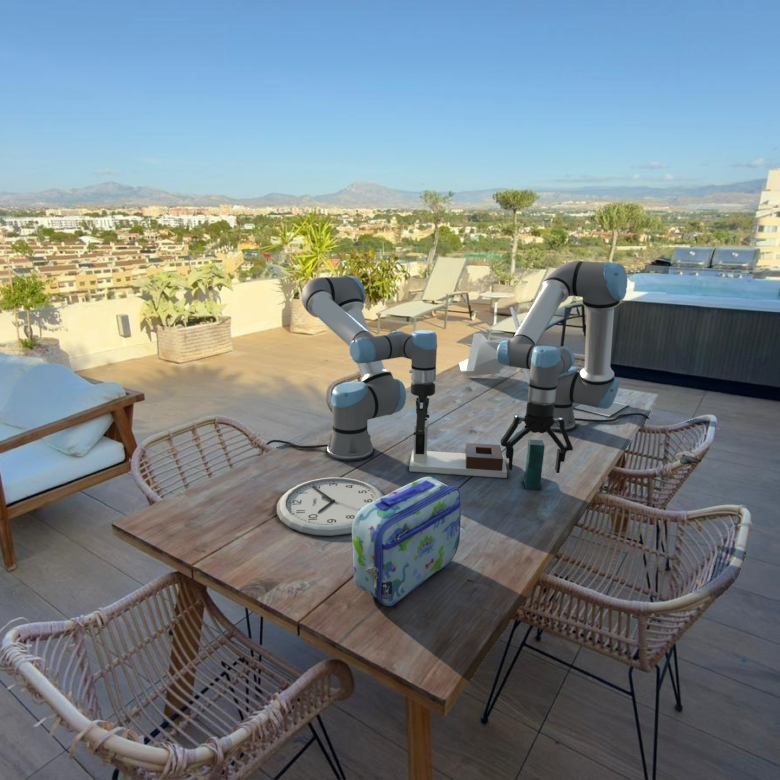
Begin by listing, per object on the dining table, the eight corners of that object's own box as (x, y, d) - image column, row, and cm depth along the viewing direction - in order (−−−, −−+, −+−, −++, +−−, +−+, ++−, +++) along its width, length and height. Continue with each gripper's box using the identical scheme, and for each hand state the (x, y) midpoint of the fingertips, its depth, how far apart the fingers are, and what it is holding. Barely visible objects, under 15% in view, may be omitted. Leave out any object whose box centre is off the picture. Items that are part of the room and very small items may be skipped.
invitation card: (608, 416, 214) (573, 407, 224) (608, 416, 214) (573, 408, 224) (628, 404, 229) (594, 396, 238) (628, 405, 229) (594, 397, 238)
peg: (537, 483, 157) (542, 440, 153) (539, 489, 154) (544, 445, 149) (524, 482, 158) (528, 439, 154) (525, 488, 154) (530, 444, 150)
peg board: (503, 461, 172) (506, 421, 167) (506, 477, 160) (510, 435, 156) (412, 455, 175) (413, 416, 171) (409, 471, 164) (410, 429, 159)
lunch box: (381, 619, 101) (382, 525, 95) (345, 592, 109) (344, 503, 102) (464, 563, 119) (469, 480, 113) (428, 543, 126) (432, 464, 120)
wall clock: (392, 527, 129) (268, 531, 127) (391, 533, 130) (269, 537, 127) (383, 473, 158) (282, 475, 155) (383, 478, 158) (282, 480, 156)
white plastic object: (480, 418, 266) (459, 395, 242) (461, 346, 288) (441, 318, 264) (550, 394, 254) (536, 368, 229) (526, 321, 276) (510, 289, 251)
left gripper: (414, 370, 173) (412, 430, 179) (407, 392, 149) (405, 460, 155) (436, 371, 172) (434, 431, 178) (433, 393, 148) (431, 462, 155)
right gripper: (583, 399, 150) (574, 467, 156) (495, 394, 153) (489, 461, 159) (589, 408, 143) (579, 478, 149) (497, 402, 146) (491, 472, 152)
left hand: (421, 445), depth 167 cm, fingers open, 13 cm apart
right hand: (533, 469), depth 154 cm, fingers open, 13 cm apart
